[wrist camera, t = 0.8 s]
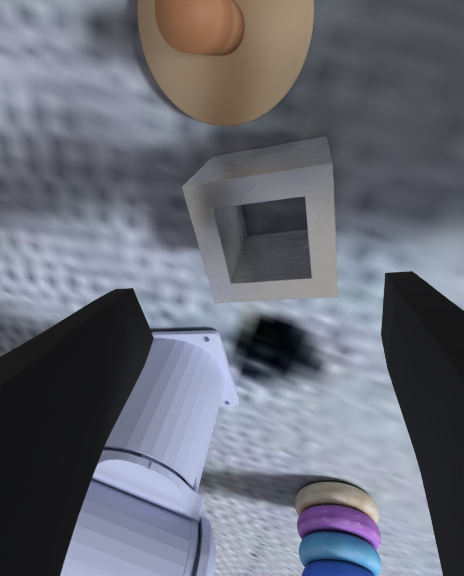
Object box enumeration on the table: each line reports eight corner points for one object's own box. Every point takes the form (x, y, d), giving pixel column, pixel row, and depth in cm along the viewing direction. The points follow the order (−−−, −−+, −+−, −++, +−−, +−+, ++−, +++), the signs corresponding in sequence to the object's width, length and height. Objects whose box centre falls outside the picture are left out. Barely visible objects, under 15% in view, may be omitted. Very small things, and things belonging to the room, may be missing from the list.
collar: (234, 252, 19) (214, 303, 15) (212, 156, 16) (181, 186, 12) (331, 243, 18) (337, 296, 14) (326, 135, 15) (333, 163, 11)
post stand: (173, 136, 16) (122, 164, 12) (120, -60, 13) (17, -125, 8) (319, 106, 14) (323, 126, 10) (306, -133, 11) (304, -273, 6)
